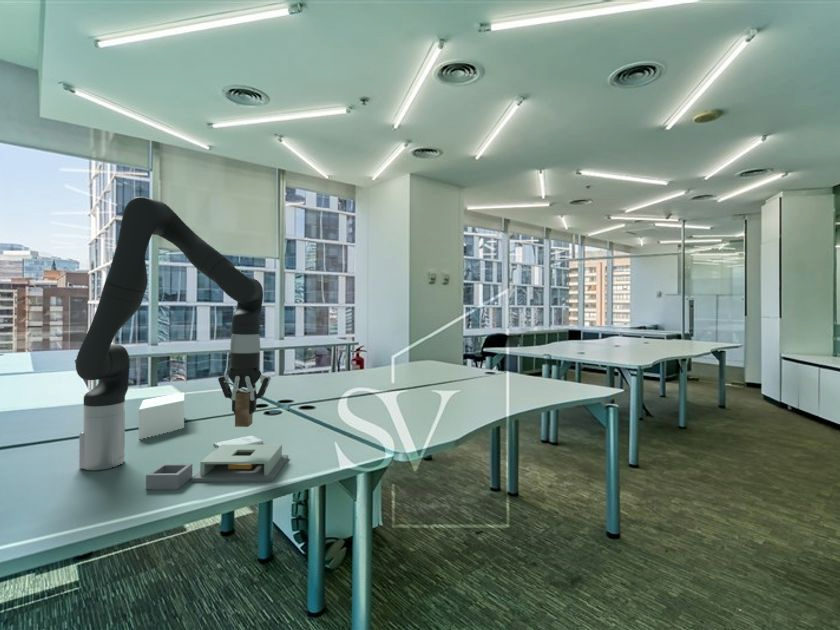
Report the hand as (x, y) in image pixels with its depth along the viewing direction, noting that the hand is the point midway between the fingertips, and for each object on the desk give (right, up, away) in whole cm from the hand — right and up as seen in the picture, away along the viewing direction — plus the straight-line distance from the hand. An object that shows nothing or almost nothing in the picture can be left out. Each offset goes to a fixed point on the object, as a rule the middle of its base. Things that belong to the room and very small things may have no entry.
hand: (244, 413), depth 118 cm
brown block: (0, -3, 0) cm, 3 cm away
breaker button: (0, -14, 0) cm, 14 cm away
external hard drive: (-10, -16, +21) cm, 28 cm away
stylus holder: (-15, -15, -10) cm, 23 cm away
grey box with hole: (0, -15, 0) cm, 15 cm away
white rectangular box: (-45, -14, +38) cm, 61 cm away
